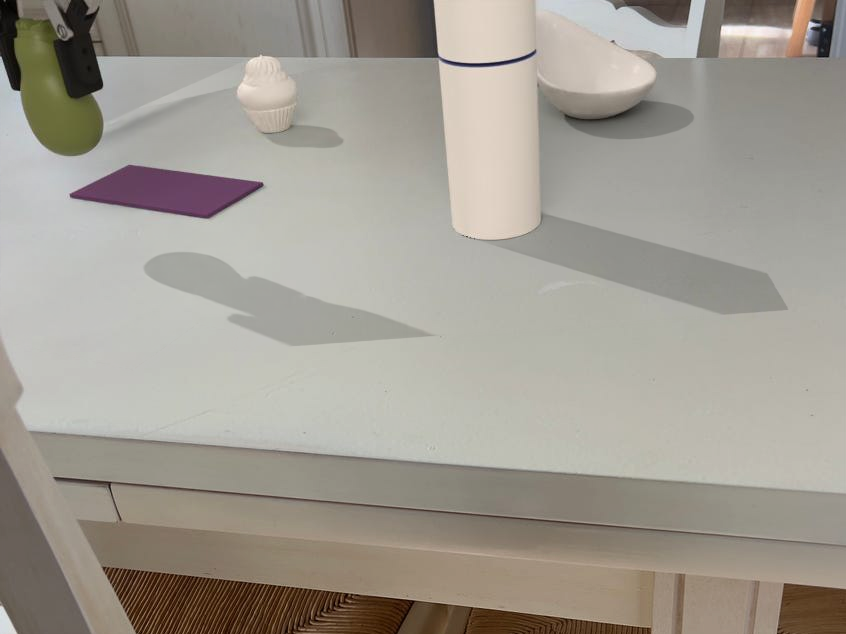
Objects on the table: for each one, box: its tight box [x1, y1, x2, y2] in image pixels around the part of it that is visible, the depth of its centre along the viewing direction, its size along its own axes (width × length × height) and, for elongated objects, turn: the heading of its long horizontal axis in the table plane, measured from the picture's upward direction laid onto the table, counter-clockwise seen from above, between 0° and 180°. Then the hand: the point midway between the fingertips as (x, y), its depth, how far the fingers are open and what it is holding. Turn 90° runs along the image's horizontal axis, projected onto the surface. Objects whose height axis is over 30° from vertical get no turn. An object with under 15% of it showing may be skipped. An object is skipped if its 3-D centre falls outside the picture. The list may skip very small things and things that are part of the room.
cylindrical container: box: [433, 0, 542, 241], centre depth 74 cm, size 7×7×25 cm
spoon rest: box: [536, 9, 658, 120], centre depth 104 cm, size 24×12×7 cm, turn 29°
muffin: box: [236, 54, 299, 134], centre depth 102 cm, size 6×6×7 cm
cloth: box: [69, 164, 264, 219], centre depth 92 cm, size 16×8×1 cm, turn 63°
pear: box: [14, 16, 105, 157], centre depth 78 cm, size 6×5×10 cm
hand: (57, 87), depth 78 cm, fingers closed on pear, 5 cm apart
